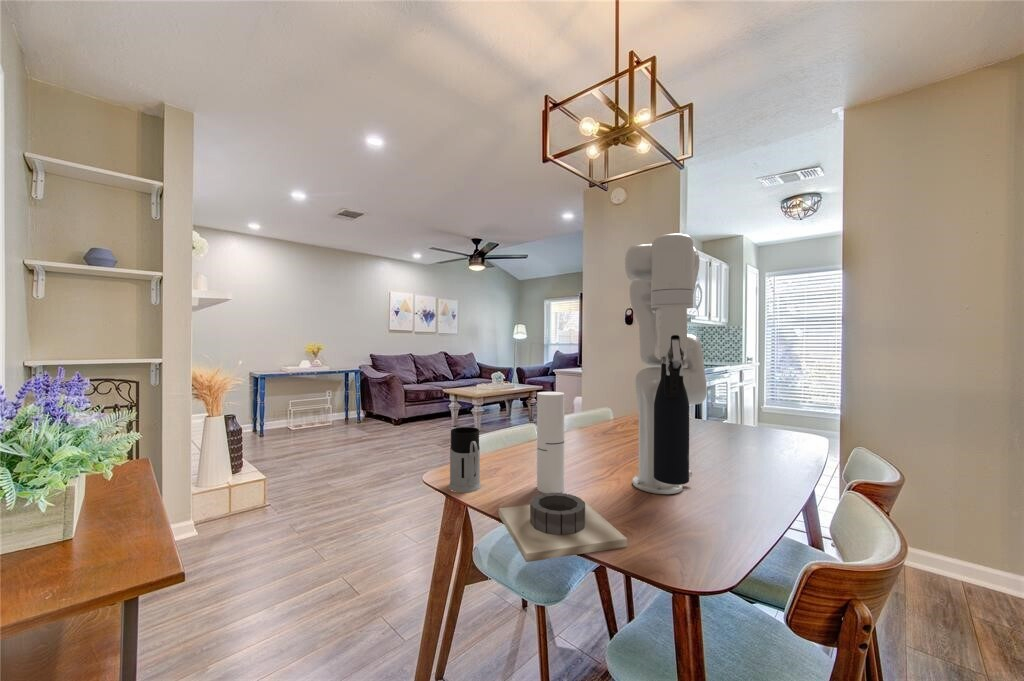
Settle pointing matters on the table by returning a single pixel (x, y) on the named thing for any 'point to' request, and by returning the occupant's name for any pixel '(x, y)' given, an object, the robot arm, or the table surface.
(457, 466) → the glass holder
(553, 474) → the cylindrical container
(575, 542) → the bottle stand
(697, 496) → the table surface
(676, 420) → the wine bottle
